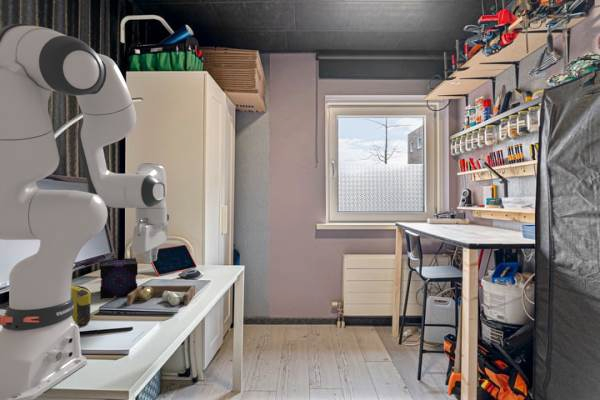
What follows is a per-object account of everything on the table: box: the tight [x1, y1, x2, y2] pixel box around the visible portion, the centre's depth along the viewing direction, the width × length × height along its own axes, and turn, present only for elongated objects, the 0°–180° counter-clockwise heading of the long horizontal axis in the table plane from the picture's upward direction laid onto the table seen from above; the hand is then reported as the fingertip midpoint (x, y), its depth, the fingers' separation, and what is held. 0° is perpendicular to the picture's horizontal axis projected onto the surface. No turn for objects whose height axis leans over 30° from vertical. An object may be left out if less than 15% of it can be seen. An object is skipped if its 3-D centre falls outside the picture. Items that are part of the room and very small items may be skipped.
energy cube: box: [99, 257, 139, 300], centre depth 133 cm, size 12×12×12 cm
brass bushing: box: [137, 287, 154, 302], centre depth 126 cm, size 4×4×5 cm
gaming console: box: [71, 284, 92, 326], centre depth 107 cm, size 26×4×10 cm, turn 57°
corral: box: [126, 285, 196, 307], centre depth 125 cm, size 12×20×4 cm, turn 95°
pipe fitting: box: [161, 291, 186, 307], centre depth 122 cm, size 8×4×7 cm
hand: (150, 262), depth 108 cm, fingers open, 3 cm apart
